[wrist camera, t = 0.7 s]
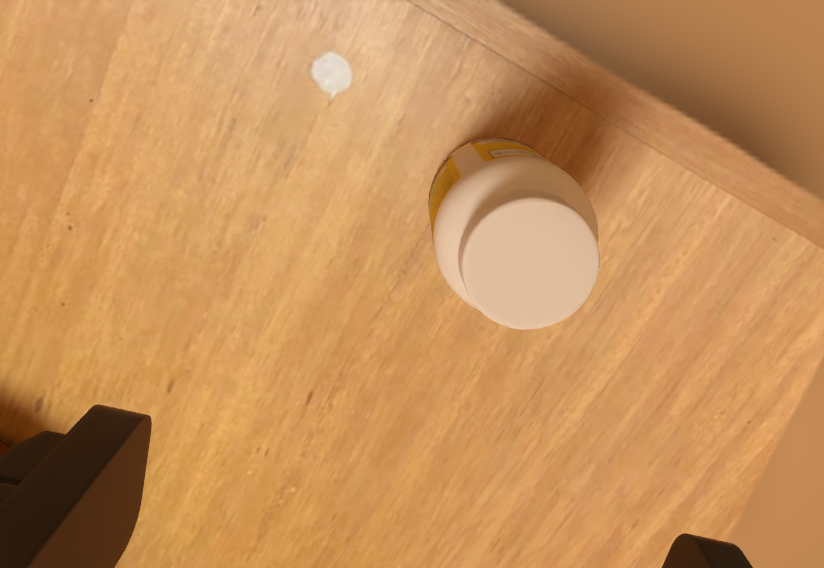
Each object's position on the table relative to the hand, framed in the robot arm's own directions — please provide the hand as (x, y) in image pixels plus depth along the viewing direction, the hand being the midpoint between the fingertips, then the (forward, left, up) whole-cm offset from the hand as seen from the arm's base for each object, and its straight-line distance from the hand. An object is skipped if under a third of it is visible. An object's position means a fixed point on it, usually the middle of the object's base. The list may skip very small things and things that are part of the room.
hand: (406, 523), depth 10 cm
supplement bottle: (-2, +3, -20) cm, 20 cm away
